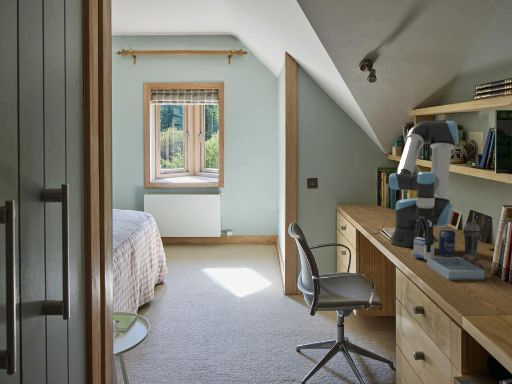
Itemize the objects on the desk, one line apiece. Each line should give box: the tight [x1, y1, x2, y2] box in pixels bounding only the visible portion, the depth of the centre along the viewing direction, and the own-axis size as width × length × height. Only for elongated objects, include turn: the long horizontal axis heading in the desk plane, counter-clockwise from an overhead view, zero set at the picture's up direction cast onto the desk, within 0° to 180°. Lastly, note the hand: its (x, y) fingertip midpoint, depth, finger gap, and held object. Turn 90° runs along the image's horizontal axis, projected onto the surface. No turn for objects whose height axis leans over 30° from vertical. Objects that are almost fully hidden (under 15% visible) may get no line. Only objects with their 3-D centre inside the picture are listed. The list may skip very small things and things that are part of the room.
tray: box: [426, 256, 485, 281], centre depth 202 cm, size 22×14×4 cm, turn 2°
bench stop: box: [462, 251, 492, 279], centre depth 202 cm, size 18×3×8 cm, turn 2°
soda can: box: [438, 227, 456, 257], centre depth 232 cm, size 7×7×12 cm
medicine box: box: [413, 237, 436, 260], centre depth 224 cm, size 8×4×9 cm, turn 45°
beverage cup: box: [463, 211, 481, 256], centre depth 231 cm, size 7×7×20 cm
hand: (423, 256), depth 224 cm, fingers closed on medicine box, 9 cm apart
